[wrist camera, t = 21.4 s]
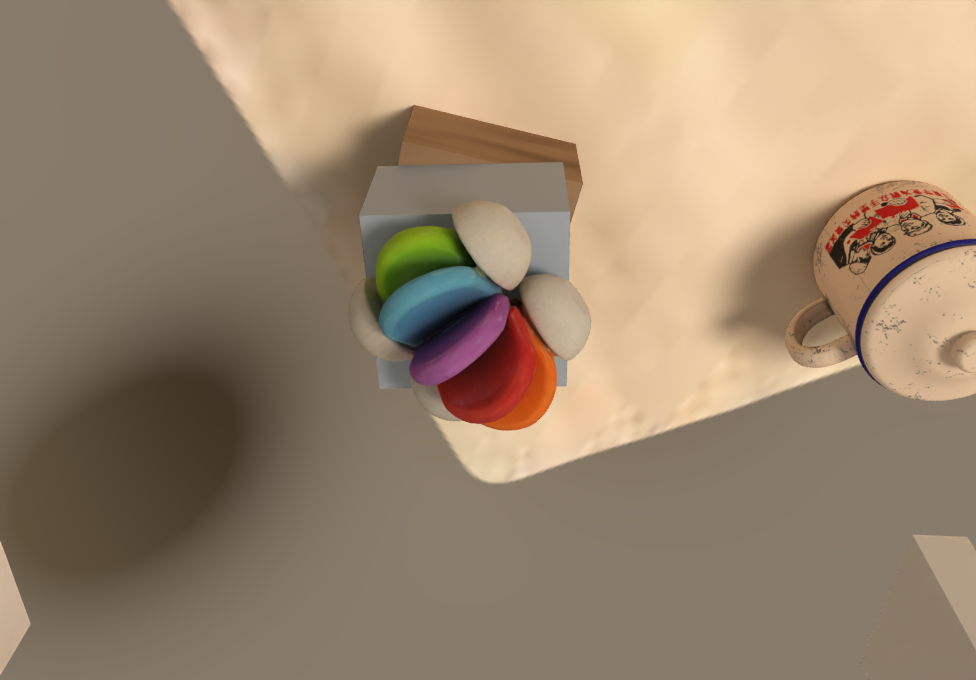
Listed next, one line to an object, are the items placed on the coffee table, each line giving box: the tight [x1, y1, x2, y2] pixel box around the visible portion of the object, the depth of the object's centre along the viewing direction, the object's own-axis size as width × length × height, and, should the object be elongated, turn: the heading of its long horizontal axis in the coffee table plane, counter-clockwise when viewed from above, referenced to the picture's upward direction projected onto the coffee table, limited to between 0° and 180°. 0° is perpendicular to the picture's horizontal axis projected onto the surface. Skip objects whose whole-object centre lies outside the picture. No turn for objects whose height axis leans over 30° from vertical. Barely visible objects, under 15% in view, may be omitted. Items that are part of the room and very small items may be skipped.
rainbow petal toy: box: [349, 201, 591, 431], centre depth 35 cm, size 8×10×7 cm
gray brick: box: [359, 162, 570, 389], centre depth 41 cm, size 9×9×6 cm
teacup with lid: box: [785, 181, 976, 401], centre depth 45 cm, size 12×9×12 cm
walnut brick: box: [398, 105, 583, 223], centre depth 46 cm, size 9×9×6 cm
